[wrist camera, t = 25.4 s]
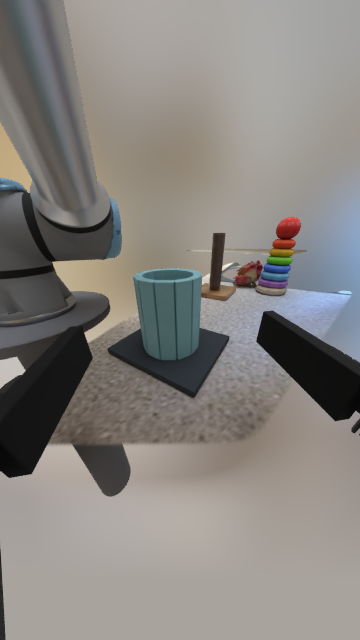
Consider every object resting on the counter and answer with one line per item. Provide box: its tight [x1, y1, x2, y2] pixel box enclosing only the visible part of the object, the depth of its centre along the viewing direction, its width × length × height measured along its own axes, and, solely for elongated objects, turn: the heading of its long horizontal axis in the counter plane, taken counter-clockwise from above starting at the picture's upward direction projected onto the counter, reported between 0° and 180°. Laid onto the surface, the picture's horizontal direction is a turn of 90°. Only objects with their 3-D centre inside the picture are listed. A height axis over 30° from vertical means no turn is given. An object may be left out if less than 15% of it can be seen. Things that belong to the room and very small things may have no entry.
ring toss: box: [201, 233, 236, 301], centre depth 43 cm, size 10×10×16 cm
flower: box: [233, 261, 263, 287], centre depth 52 cm, size 10×9×8 cm
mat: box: [108, 328, 229, 397], centre depth 24 cm, size 14×12×1 cm
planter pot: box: [133, 269, 202, 360], centre depth 21 cm, size 8×8×10 cm
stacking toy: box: [256, 217, 301, 295], centre depth 43 cm, size 8×8×19 cm
